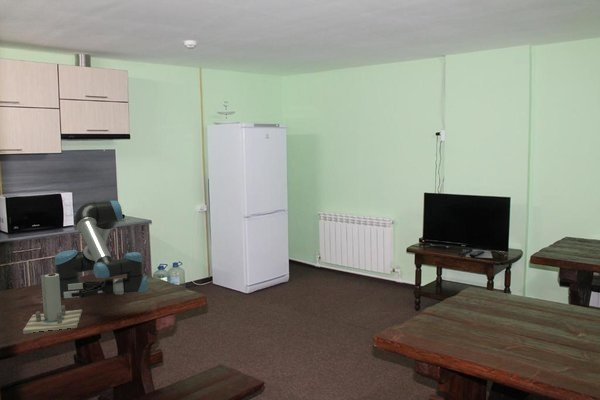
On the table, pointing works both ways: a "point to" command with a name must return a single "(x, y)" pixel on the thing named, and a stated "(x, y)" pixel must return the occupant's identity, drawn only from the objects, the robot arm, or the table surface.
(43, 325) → the plate
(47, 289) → the paper towel roll
